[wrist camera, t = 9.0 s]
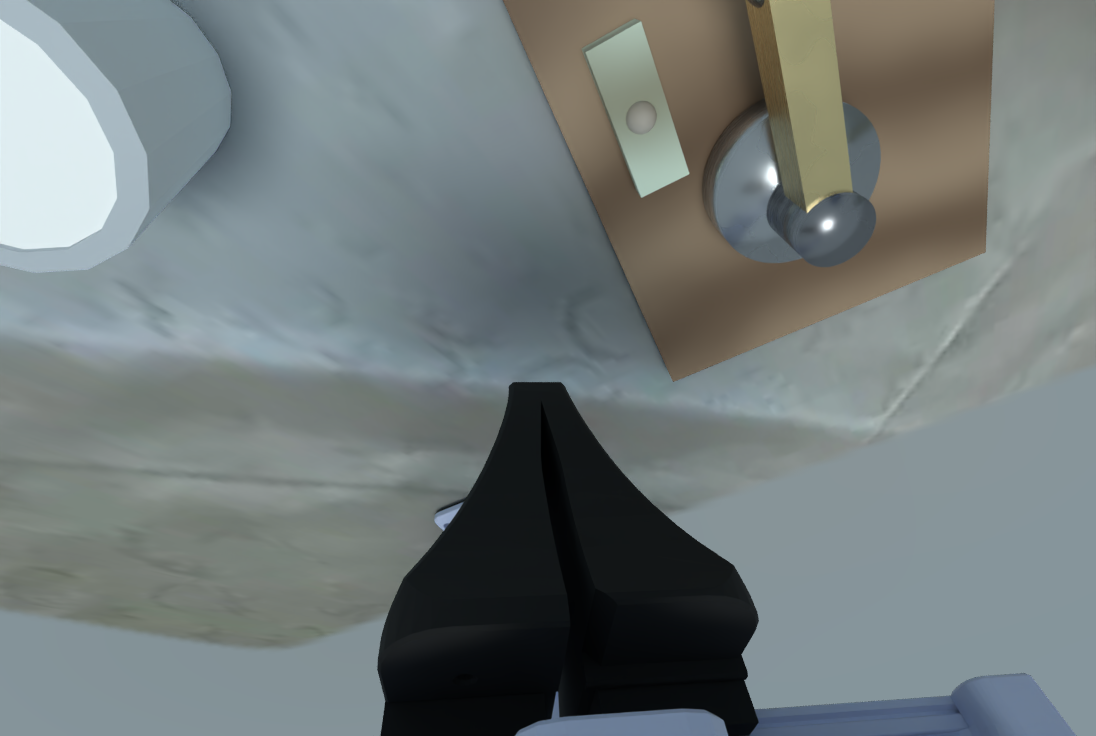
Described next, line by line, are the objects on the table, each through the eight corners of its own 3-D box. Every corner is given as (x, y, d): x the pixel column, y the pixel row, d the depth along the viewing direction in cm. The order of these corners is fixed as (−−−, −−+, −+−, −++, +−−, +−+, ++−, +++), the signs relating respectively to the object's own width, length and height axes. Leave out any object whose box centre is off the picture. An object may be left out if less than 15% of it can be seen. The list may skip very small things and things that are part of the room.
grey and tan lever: (862, 206, 21) (931, 251, 18) (723, 267, 22) (763, 321, 19) (825, -135, 15) (920, -162, 11) (634, -25, 16) (672, -21, 13)
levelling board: (968, 242, 24) (1011, 267, 22) (667, 369, 26) (681, 401, 24) (976, -365, 13) (1059, -420, 11) (480, -50, 16) (480, -51, 14)
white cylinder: (291, 157, 19) (210, 238, 14) (113, 206, 20) (-36, 303, 14) (166, -90, 15) (-26, -121, 9) (-57, -22, 15) (-366, -13, 10)
